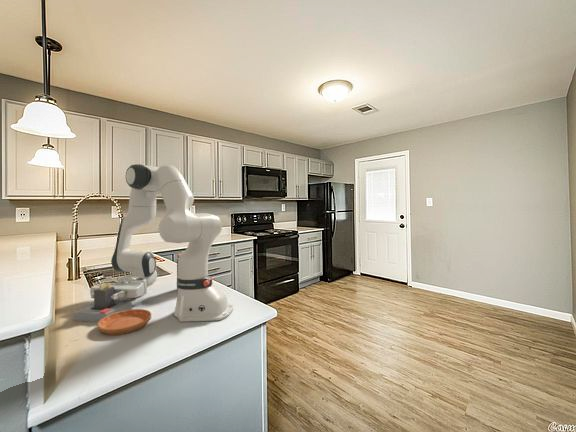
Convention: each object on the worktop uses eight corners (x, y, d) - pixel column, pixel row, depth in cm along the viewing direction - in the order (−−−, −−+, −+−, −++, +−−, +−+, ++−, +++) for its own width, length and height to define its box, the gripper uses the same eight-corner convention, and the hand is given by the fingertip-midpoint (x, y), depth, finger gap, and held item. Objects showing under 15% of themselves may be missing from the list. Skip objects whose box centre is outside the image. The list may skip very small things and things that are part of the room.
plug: (114, 311, 102) (114, 282, 101) (105, 316, 97) (104, 285, 97) (104, 311, 102) (103, 281, 102) (94, 316, 98) (93, 285, 97)
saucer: (157, 326, 90) (157, 318, 90) (101, 343, 79) (101, 333, 79) (144, 312, 102) (144, 305, 101) (94, 325, 91) (94, 317, 91)
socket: (132, 308, 105) (131, 299, 105) (106, 322, 93) (106, 312, 92) (102, 306, 107) (102, 297, 107) (73, 320, 94) (73, 310, 94)
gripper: (105, 277, 113) (77, 287, 99) (149, 279, 111) (126, 289, 97) (106, 292, 113) (77, 303, 100) (150, 293, 111) (127, 306, 98)
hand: (102, 296), depth 99 cm, fingers open, 7 cm apart
